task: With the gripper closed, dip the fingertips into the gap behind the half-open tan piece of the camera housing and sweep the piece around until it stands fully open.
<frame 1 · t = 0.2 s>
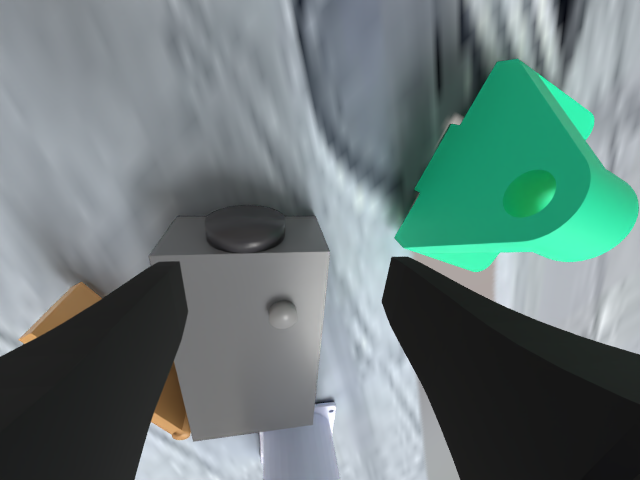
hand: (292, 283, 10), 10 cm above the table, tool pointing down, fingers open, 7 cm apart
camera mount: (469, 176, 21), on the table
tan piece: (131, 367, 19), point 3 cm above the table, hinge at 30.0°
camera housing: (253, 309, 22), on the table
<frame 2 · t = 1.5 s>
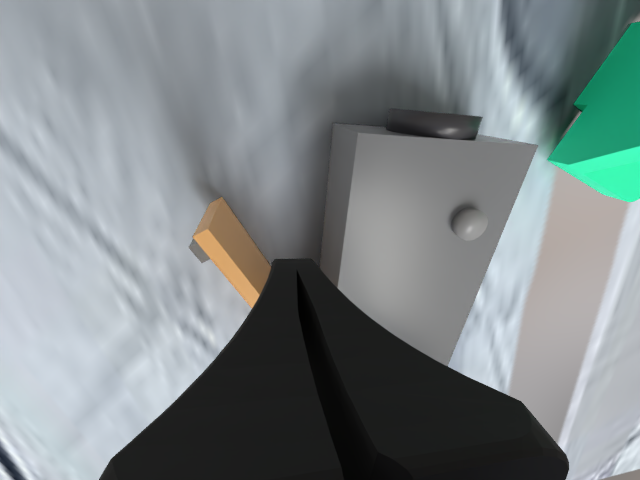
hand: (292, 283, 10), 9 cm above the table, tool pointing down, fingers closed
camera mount: (627, 94, 19), on the table
tan piece: (267, 297, 17), point 3 cm above the table, hinge at 30.0°
camera housing: (381, 245, 20), on the table
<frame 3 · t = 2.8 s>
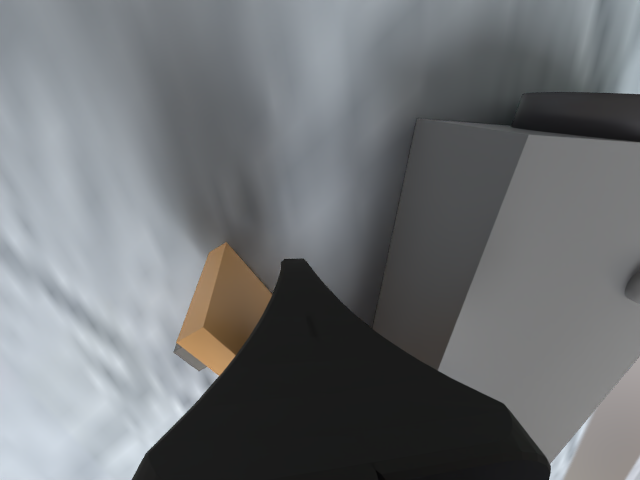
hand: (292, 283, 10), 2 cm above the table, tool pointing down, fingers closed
tan piece: (302, 383, 12), point 3 cm above the table, hinge at 33.7°, touching gripper
camera housing: (460, 289, 15), on the table
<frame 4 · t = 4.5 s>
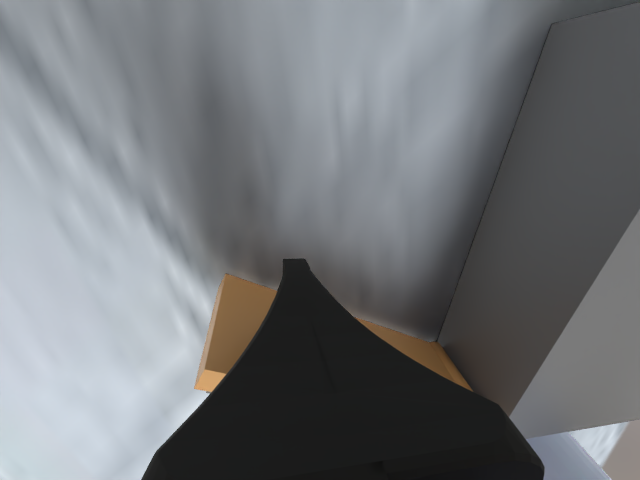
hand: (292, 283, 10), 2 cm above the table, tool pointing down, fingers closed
tan piece: (358, 364, 12), point 3 cm above the table, hinge at 64.5°, touching gripper
camera housing: (554, 233, 14), on the table
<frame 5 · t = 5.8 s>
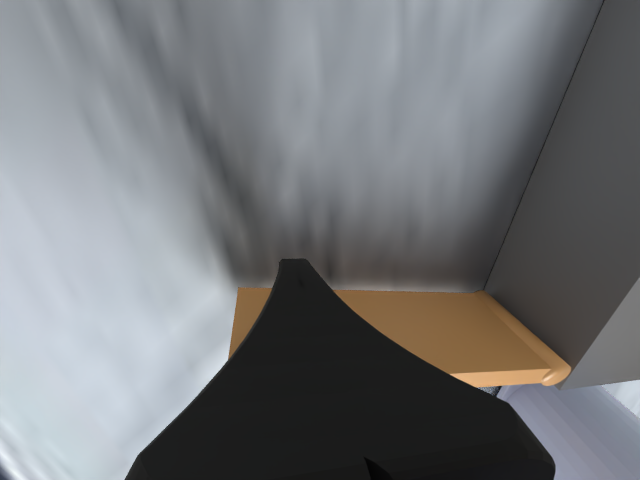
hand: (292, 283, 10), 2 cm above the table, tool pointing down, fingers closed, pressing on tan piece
tan piece: (393, 337, 11), point 3 cm above the table, hinge at 85.3°, touching gripper
camera housing: (619, 165, 13), on the table
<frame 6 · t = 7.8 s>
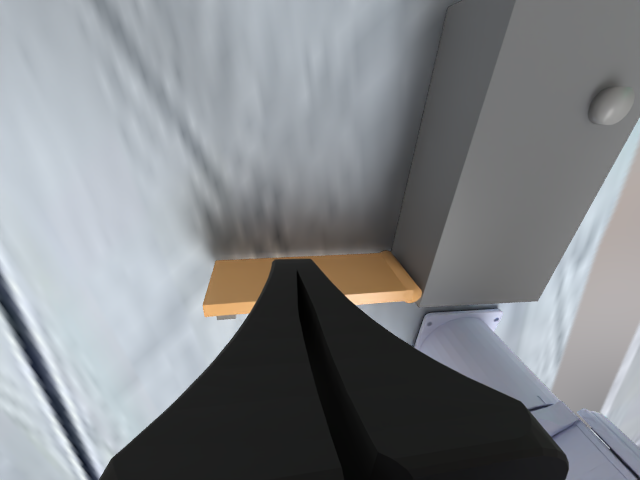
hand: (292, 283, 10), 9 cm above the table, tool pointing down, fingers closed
tan piece: (314, 282, 18), point 3 cm above the table, hinge at 92.1°
camera housing: (472, 164, 19), on the table
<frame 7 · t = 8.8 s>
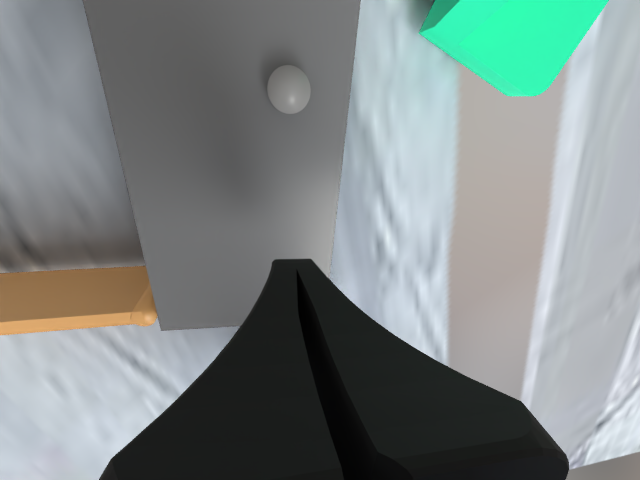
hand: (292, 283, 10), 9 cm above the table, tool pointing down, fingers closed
tan piece: (48, 301, 16), point 3 cm above the table, hinge at 92.1°
camera housing: (246, 164, 17), on the table
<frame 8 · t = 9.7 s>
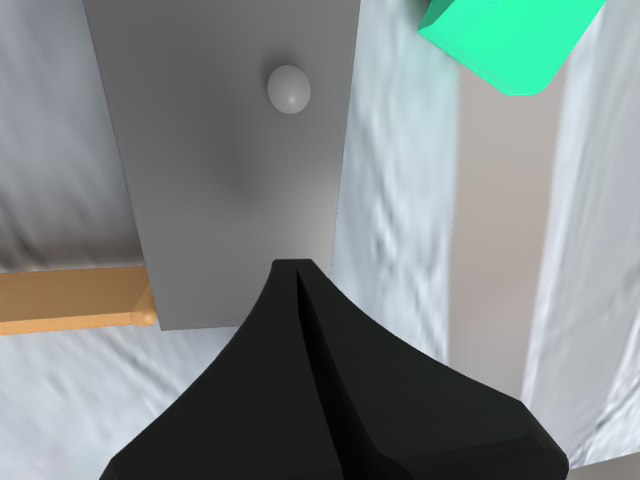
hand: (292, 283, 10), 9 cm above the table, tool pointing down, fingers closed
tan piece: (48, 301, 16), point 3 cm above the table, hinge at 92.1°
camera housing: (246, 164, 17), on the table
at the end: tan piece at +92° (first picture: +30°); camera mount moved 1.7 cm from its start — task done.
